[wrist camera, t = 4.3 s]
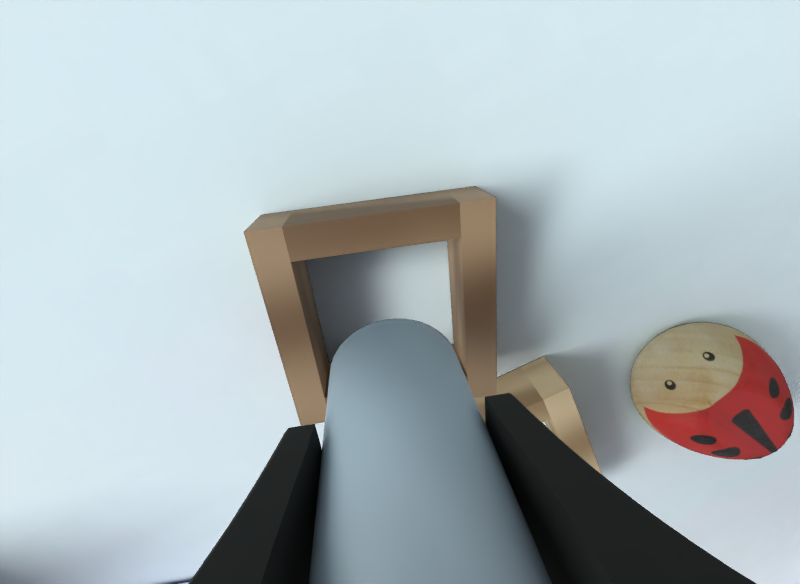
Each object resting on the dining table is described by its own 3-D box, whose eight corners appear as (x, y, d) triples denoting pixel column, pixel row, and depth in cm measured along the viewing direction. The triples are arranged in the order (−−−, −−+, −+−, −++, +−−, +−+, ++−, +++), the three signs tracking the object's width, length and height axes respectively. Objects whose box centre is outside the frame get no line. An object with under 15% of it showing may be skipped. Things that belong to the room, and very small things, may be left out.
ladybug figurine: (691, 288, 18) (762, 323, 15) (785, 376, 22) (860, 421, 18) (591, 382, 20) (635, 431, 17) (691, 450, 24) (744, 503, 20)
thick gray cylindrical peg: (453, 418, 13) (578, 809, 6) (334, 427, 12) (304, 861, 5) (462, 315, 11) (660, 686, 4) (325, 321, 11) (262, 747, 3)
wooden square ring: (479, 361, 19) (496, 394, 16) (308, 387, 18) (300, 425, 16) (475, 186, 15) (495, 197, 13) (261, 214, 15) (243, 232, 12)
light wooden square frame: (584, 459, 22) (610, 498, 20) (455, 514, 23) (465, 557, 21) (544, 356, 19) (569, 388, 17) (393, 425, 20) (398, 464, 17)
